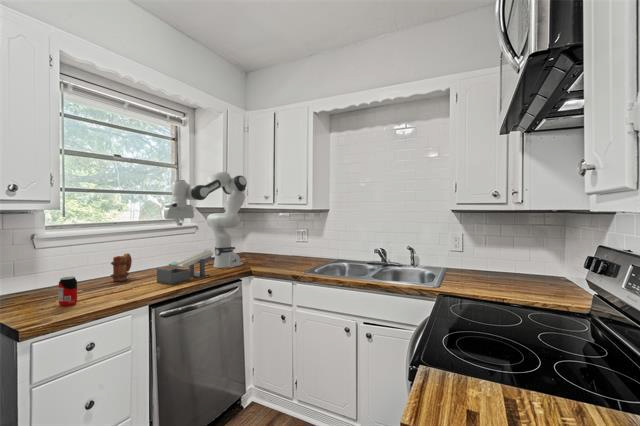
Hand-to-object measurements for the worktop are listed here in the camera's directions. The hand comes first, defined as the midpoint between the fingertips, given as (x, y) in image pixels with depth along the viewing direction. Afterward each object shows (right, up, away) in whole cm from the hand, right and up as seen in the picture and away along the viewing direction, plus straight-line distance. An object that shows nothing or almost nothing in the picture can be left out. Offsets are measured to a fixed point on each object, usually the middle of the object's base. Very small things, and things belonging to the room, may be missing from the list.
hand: (179, 225), depth 207 cm
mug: (-25, -32, -19) cm, 45 cm away
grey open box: (+7, -32, -25) cm, 41 cm away
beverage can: (-19, -33, -68) cm, 78 cm away
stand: (+15, -31, -11) cm, 36 cm away
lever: (+12, -24, -9) cm, 29 cm away
